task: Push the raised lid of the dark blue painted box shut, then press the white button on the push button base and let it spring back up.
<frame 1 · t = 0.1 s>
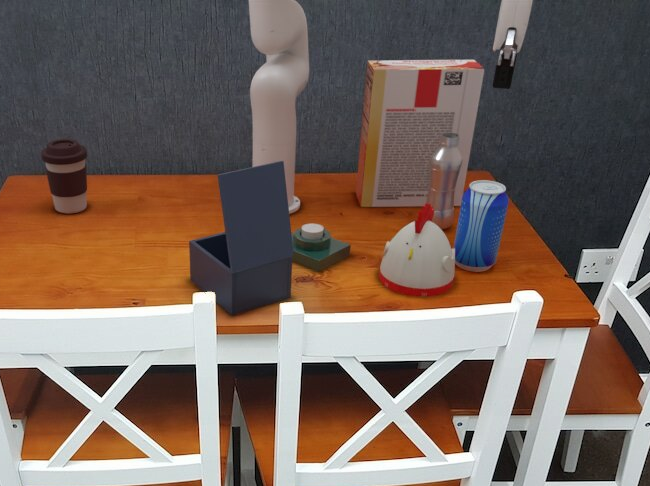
hand: (502, 81, 150), 31 cm above the table, tool pointing down, fingers open, 9 cm apart
beer can: (472, 264, 155), on the table
plastic bottle: (435, 227, 170), on the table
white button: (312, 231, 156), point 5 cm above the table, slide at 0.1 cm
box: (239, 289, 147), on the table
coffee cup: (71, 208, 180), on the table
lid: (257, 216, 134), point 17 cm above the table, hinge at 75.0°
kitchen timer: (415, 279, 150), on the table
push button base: (311, 254, 159), on the table
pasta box: (407, 200, 183), on the table
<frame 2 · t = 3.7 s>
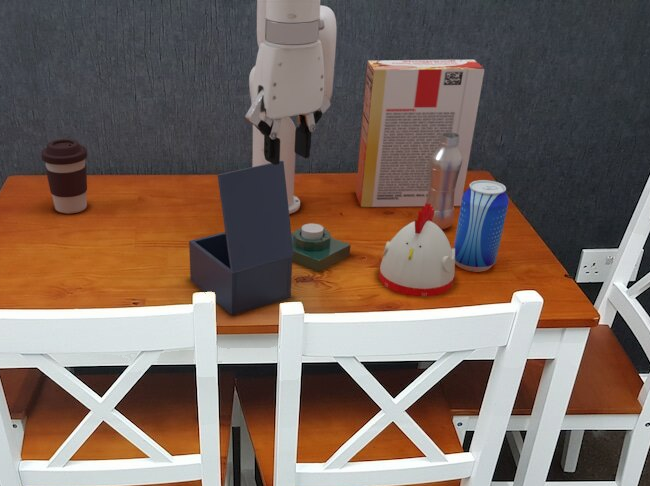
hand: (287, 157, 121), 29 cm above the table, tool pointing down, fingers open, 4 cm apart
nothing on the table moved.
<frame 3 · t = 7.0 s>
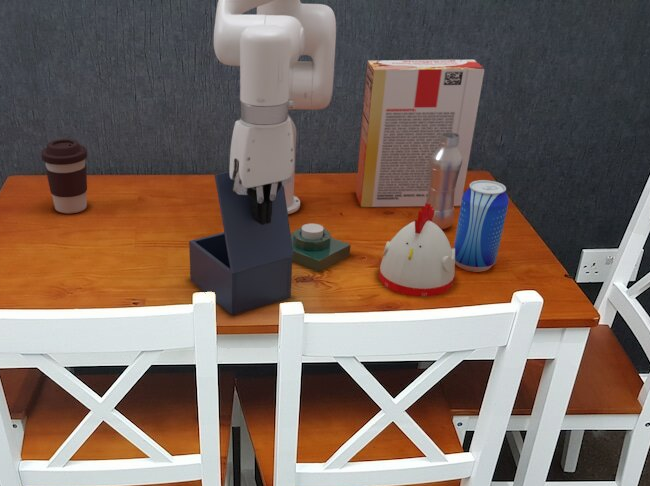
hand: (261, 221, 133), 16 cm above the table, tool pointing down, fingers closed
lid: (255, 216, 134), point 17 cm above the table, hinge at 71.4°, touching gripper
everything else where it was.
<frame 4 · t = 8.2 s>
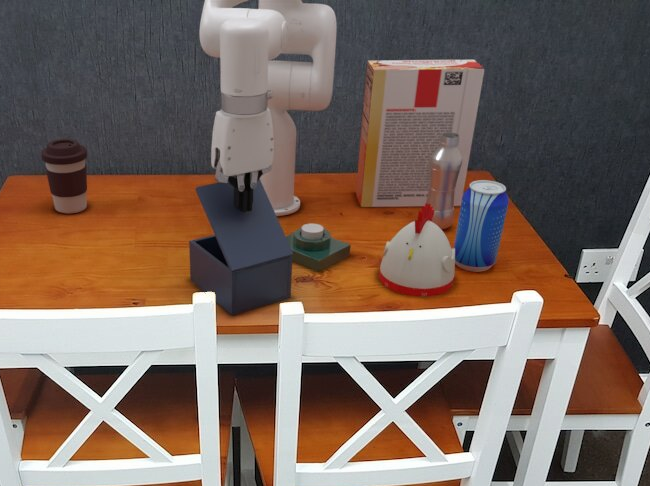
hand: (243, 209, 137), 16 cm above the table, tool pointing down, fingers closed
lid: (244, 221, 138), point 14 cm above the table, hinge at 41.4°
everything else where it was.
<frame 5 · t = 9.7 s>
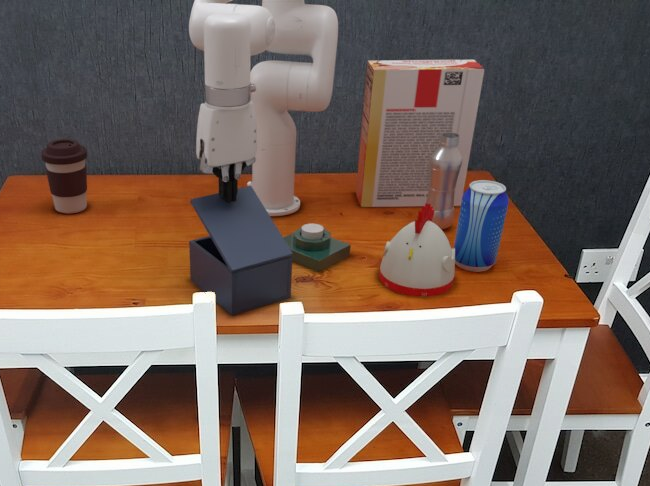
hand: (228, 199, 141), 16 cm above the table, tool pointing down, fingers closed
lid: (241, 227, 140), point 13 cm above the table, hinge at 28.6°, touching gripper
everything else where it was.
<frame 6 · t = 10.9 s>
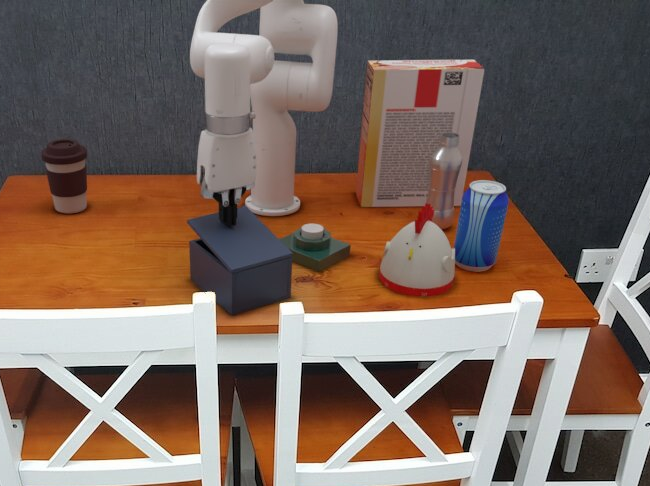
hand: (228, 223, 143), 12 cm above the table, tool pointing down, fingers closed
lid: (239, 237, 142), point 10 cm above the table, hinge at 11.4°, touching gripper
everything else where it was.
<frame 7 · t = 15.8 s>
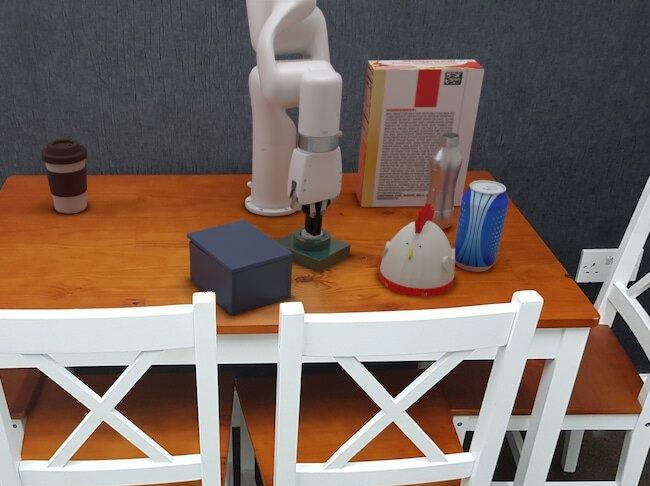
hand: (312, 232, 156), 5 cm above the table, tool pointing down, fingers closed
white button: (312, 236, 157), point 4 cm above the table, slide at -0.9 cm, touching gripper
lid: (238, 244, 143), point 9 cm above the table, hinge at 1.1°
everything else where it was.
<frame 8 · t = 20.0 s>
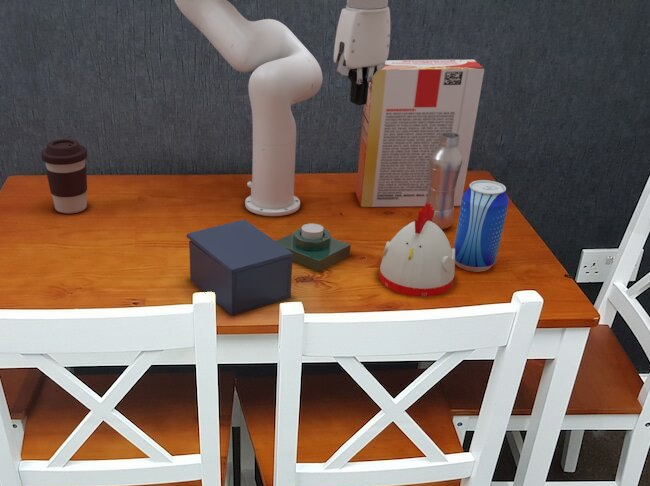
hand: (358, 103, 153), 27 cm above the table, tool pointing down, fingers closed
white button: (312, 231, 156), point 5 cm above the table, slide at 0.1 cm
everything else where it was.
at the end: lid at +1° (first picture: +75°); white button pushed in 1.3 cm at the most during the clip, back to where it started at the end; white button slide at 0.1 cm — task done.
